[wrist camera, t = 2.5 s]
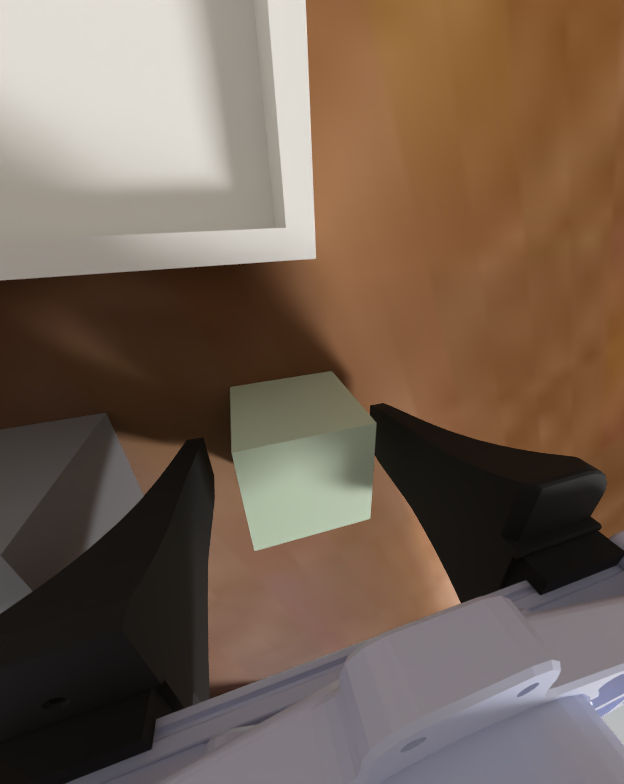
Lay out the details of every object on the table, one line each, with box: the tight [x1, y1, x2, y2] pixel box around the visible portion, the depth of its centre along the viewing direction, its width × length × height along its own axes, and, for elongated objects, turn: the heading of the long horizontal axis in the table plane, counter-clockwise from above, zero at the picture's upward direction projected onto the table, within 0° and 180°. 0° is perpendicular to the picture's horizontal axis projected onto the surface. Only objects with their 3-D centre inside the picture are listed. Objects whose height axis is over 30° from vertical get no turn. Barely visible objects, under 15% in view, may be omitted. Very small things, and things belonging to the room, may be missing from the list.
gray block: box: [0, 413, 144, 614], centre depth 9 cm, size 6×6×6 cm
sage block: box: [230, 371, 376, 551], centre depth 11 cm, size 4×4×4 cm
